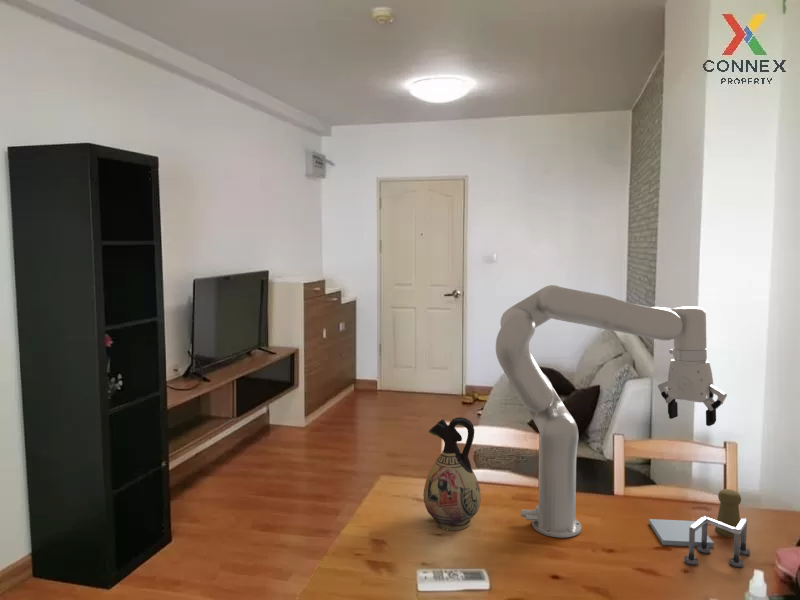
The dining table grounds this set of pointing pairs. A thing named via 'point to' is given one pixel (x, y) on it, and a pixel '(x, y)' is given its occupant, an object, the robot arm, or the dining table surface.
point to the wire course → (703, 548)
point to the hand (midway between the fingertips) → (691, 421)
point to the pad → (676, 532)
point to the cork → (728, 510)
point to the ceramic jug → (452, 479)
